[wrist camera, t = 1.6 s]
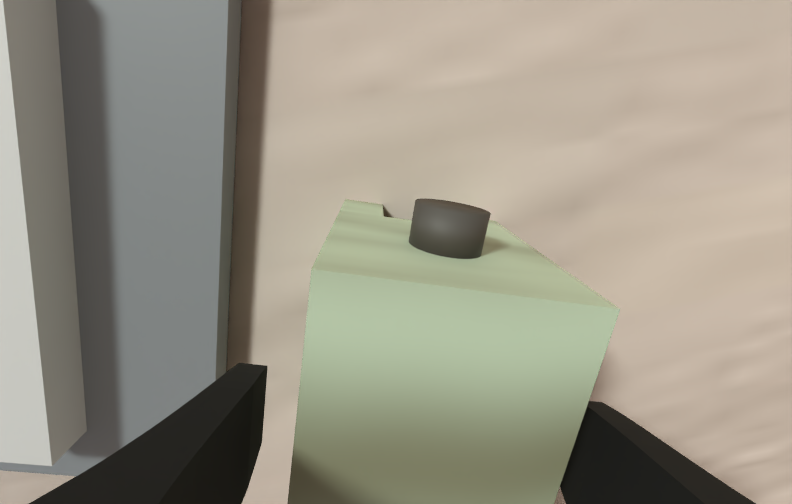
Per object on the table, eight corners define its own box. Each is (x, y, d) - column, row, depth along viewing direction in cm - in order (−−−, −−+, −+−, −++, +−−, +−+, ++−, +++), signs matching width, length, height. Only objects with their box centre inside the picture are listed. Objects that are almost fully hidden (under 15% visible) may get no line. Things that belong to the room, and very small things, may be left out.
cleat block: (449, 420, 15) (506, 641, 9) (320, 407, 15) (274, 631, 8) (500, 194, 13) (638, 257, 6) (349, 170, 12) (317, 211, 6)
